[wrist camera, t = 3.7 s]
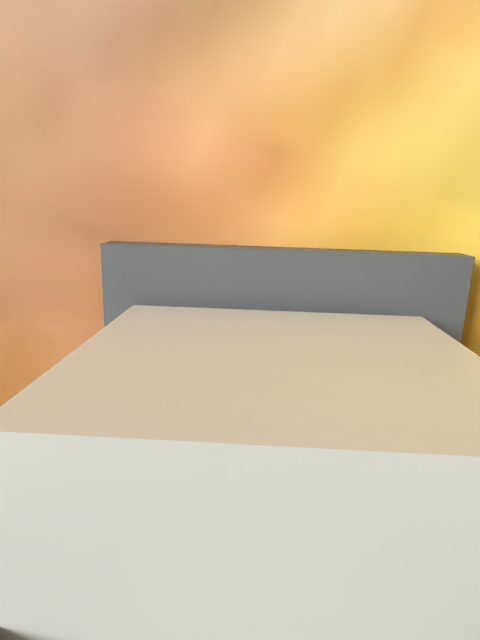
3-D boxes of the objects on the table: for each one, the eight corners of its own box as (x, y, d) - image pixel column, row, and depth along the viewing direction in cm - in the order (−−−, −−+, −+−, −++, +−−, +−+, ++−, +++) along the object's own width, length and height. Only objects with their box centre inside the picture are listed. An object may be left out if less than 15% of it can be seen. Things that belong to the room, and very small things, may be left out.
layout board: (135, 791, 24) (127, 826, 23) (112, 241, 17) (98, 244, 16) (373, 814, 24) (380, 851, 22) (460, 253, 16) (477, 257, 15)
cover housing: (140, 544, 18) (27, 858, 9) (133, 304, 16) (-30, 429, 7) (388, 559, 18) (511, 902, 9) (422, 316, 15) (636, 465, 6)
